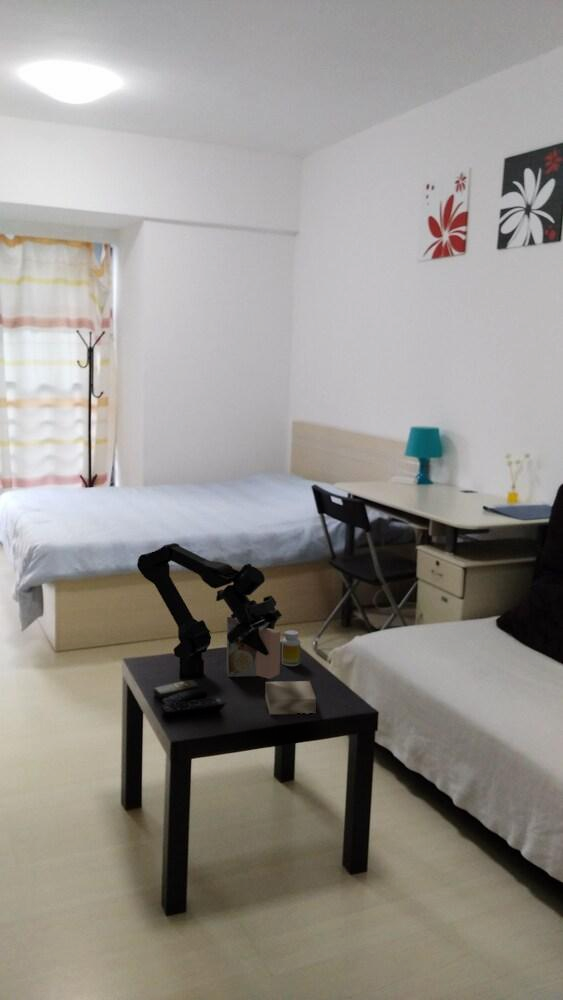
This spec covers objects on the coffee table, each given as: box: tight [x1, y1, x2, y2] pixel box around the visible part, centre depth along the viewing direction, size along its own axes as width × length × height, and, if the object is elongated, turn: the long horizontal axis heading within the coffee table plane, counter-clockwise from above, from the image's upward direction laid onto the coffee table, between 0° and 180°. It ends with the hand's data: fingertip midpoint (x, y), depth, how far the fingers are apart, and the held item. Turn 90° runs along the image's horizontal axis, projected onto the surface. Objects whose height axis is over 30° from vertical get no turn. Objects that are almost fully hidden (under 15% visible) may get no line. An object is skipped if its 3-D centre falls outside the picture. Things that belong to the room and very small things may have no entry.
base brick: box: [264, 680, 317, 715], centre depth 229 cm, size 12×12×4 cm
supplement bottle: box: [281, 629, 301, 667], centre depth 258 cm, size 5×5×10 cm
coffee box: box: [226, 616, 259, 678], centre depth 249 cm, size 9×6×16 cm
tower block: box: [256, 628, 282, 680], centre depth 231 cm, size 4×4×12 cm
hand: (272, 652), depth 230 cm, fingers closed on tower block, 4 cm apart
